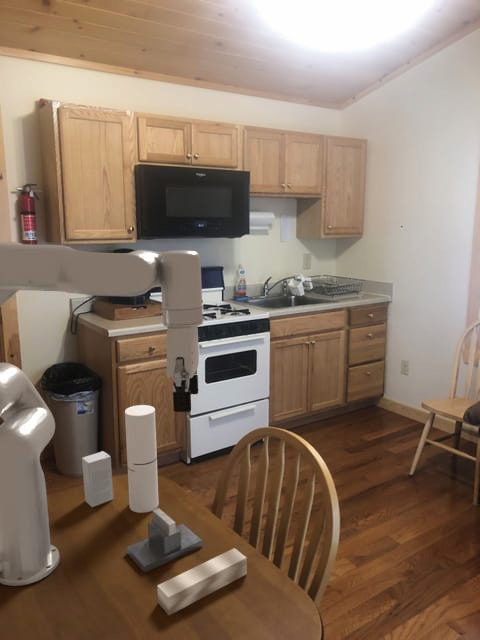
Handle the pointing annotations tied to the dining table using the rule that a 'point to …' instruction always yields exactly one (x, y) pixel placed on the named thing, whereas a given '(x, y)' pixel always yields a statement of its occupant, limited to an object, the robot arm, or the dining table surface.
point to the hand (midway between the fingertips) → (186, 402)
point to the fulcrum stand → (163, 542)
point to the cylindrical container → (141, 458)
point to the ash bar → (201, 581)
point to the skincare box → (97, 478)
